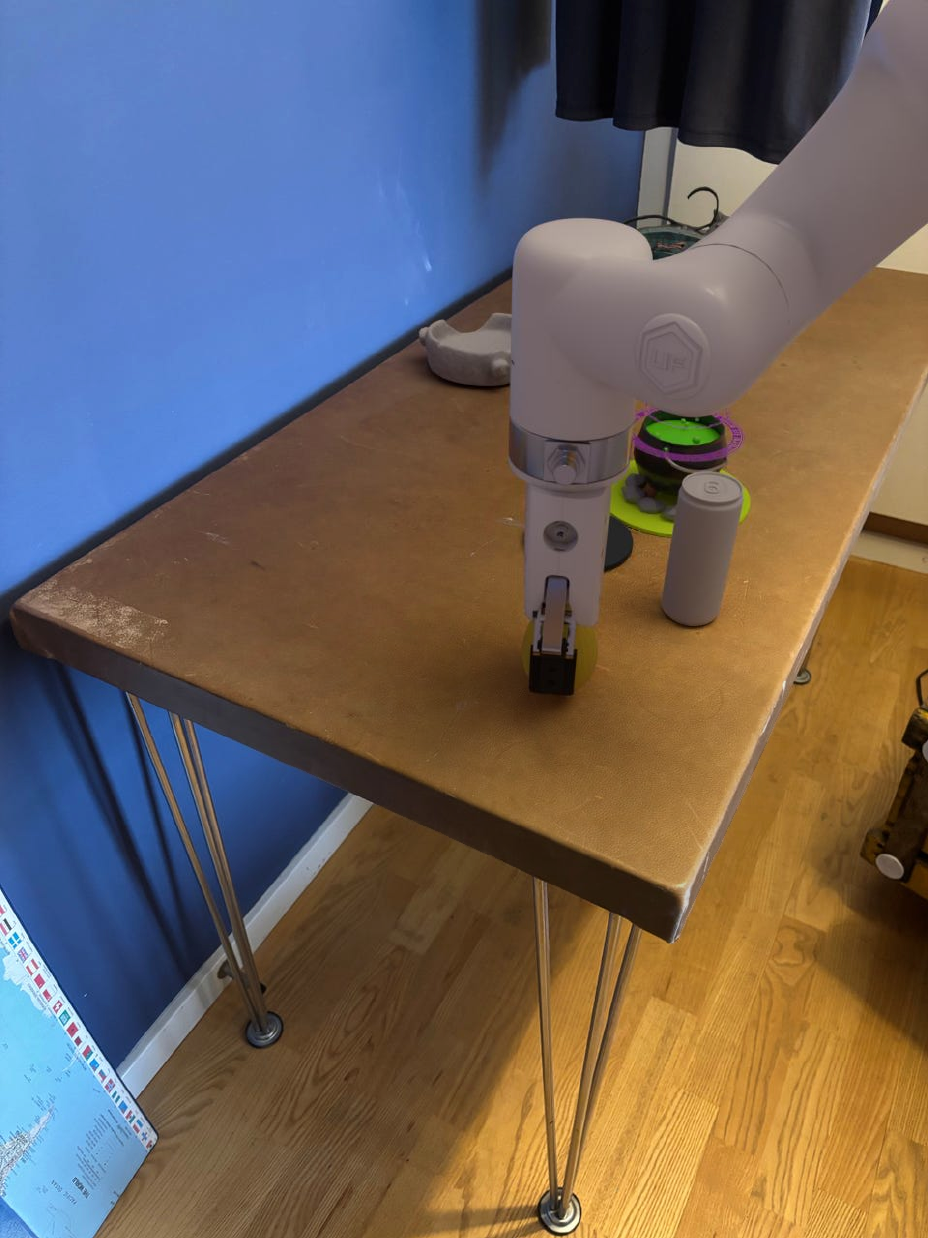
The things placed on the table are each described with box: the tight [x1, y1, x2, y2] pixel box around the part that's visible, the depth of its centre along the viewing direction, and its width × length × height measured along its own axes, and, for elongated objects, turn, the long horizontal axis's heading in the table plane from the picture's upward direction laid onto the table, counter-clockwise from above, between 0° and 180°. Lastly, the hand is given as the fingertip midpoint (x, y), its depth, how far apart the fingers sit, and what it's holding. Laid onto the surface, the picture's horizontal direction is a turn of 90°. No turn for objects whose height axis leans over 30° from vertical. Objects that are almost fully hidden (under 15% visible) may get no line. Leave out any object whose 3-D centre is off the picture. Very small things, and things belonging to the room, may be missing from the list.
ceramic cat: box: [621, 186, 731, 260], centre depth 112 cm, size 20×6×20 cm, turn 76°
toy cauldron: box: [610, 403, 752, 538], centre depth 87 cm, size 15×15×11 cm
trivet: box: [604, 515, 634, 572], centre depth 84 cm, size 10×10×1 cm
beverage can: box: [661, 471, 744, 627], centre depth 72 cm, size 5×5×12 cm
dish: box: [418, 312, 512, 387], centre depth 113 cm, size 14×14×5 cm
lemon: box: [521, 605, 599, 693], centre depth 66 cm, size 6×6×8 cm
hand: (554, 660), depth 67 cm, fingers closed on lemon, 5 cm apart
